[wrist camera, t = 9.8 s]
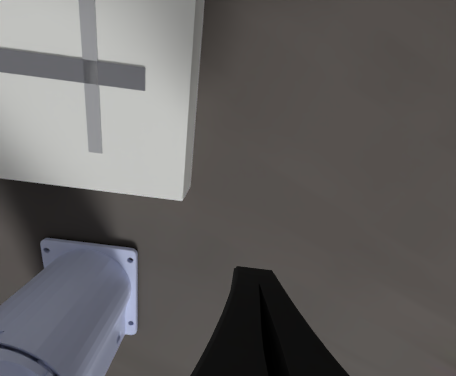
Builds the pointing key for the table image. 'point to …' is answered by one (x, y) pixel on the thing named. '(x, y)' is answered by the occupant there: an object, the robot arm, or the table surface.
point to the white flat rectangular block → (100, 93)
